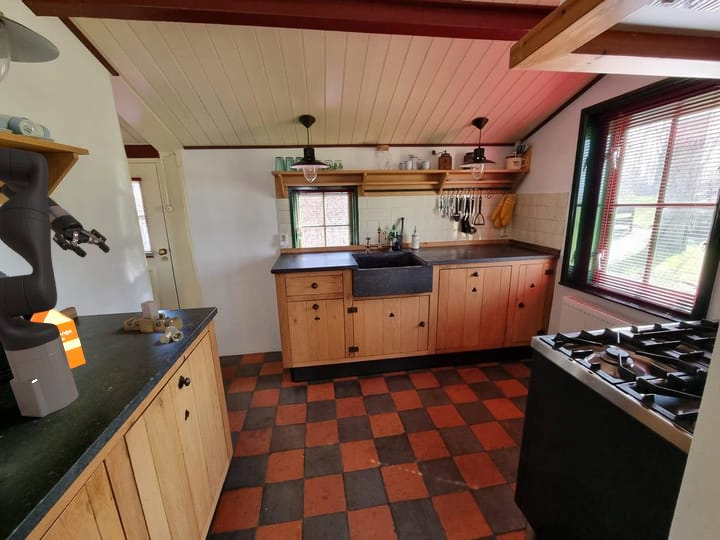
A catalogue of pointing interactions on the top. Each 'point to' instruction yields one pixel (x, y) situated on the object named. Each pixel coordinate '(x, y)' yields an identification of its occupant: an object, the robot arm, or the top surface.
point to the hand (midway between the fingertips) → (96, 253)
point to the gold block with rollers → (148, 324)
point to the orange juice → (64, 335)
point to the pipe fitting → (171, 335)
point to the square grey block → (150, 310)
